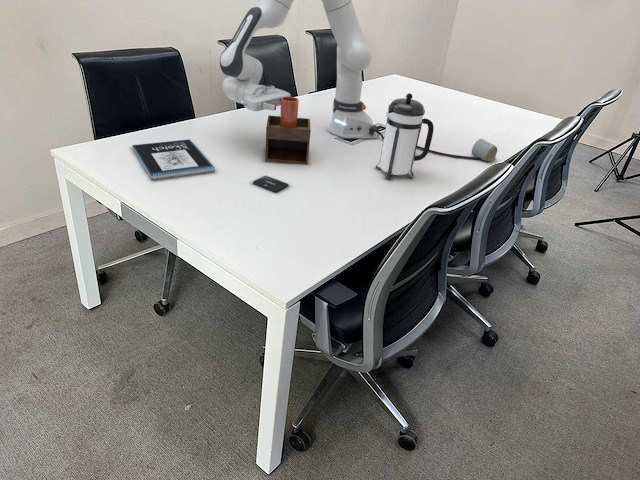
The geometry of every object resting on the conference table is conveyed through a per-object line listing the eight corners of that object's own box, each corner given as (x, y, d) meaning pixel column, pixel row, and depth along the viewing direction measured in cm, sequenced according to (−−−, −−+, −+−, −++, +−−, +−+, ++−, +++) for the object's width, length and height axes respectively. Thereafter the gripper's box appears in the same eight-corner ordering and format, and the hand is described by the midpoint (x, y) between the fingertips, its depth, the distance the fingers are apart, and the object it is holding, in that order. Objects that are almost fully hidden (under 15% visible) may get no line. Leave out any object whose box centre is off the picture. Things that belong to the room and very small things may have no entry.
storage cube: (307, 151, 186) (309, 118, 178) (307, 164, 175) (310, 130, 167) (267, 148, 184) (268, 115, 177) (265, 161, 173) (266, 126, 166)
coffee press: (407, 186, 167) (425, 103, 150) (367, 173, 173) (381, 92, 157) (424, 171, 179) (442, 93, 163) (387, 160, 186) (401, 84, 170)
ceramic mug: (485, 163, 193) (491, 146, 188) (469, 156, 198) (474, 139, 194) (499, 159, 199) (505, 142, 195) (483, 153, 204) (488, 136, 200)
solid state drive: (276, 192, 152) (276, 190, 152) (252, 183, 157) (252, 181, 156) (288, 185, 158) (288, 183, 157) (265, 177, 162) (265, 175, 161)
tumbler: (292, 127, 178) (294, 96, 171) (298, 133, 173) (301, 101, 166) (277, 128, 175) (278, 96, 169) (283, 134, 170) (284, 101, 164)
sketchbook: (189, 142, 182) (189, 137, 181) (215, 173, 161) (215, 167, 160) (132, 148, 172) (131, 142, 171) (152, 181, 151) (151, 175, 150)
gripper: (236, 92, 168) (264, 102, 162) (274, 84, 183) (301, 93, 176) (236, 109, 172) (263, 119, 165) (273, 100, 186) (300, 109, 179)
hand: (283, 105), depth 171 cm, fingers open, 8 cm apart
